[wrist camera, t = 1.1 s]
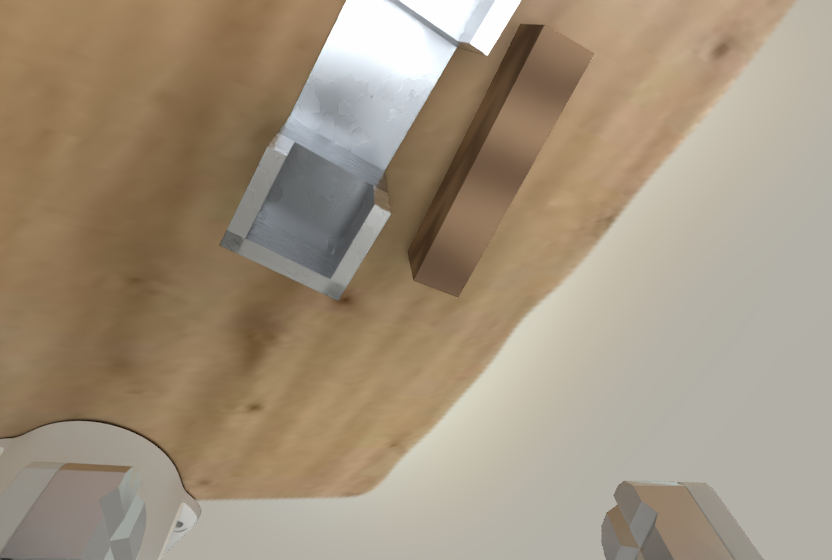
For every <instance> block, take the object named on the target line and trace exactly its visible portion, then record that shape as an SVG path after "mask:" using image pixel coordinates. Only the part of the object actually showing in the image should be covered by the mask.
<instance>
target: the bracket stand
mask: <svg viewBox="0 0 832 560" xmlns="http://www.w3.org/2000/svg"><path fill="white" fill-rule="evenodd" d="M520 1H521V0H347V1H346V3H345V5H344V7H343V9H342V11H341V13H340V15H339V17H338V19H337V21H336V23H335V25H334V27H333V29H332V31H331V33H330V35H329V37H328V39H327V41H326V43H325V45H324V47H323V49H322V51H321V53H320V55H319V57H318V60H317V62H316V64H315V66H314V68H313V70H312V72H311V74H310V76H309V78H308V80H307V82H306V84H305V86H304V88H303V90H302V92H301V94H300V96H299V98H298V100H297V102H296V104H295V106H294V108H293V110H292V112H291V114H290V116H289V118H288V119H287V121H286V122H285V123H284V125H283V126H282V127H281V129H280V130H279V131H278V133H277V134H276V135H275V137H274V138H273V140H272V141H271V142H270V144H269V145H268V146H267V149H266V151H265V153H264V155H263V157H262V159H261V161H260V163H259V165H258V167H257V169H256V171H255V173H254V175H253V177H252V179H251V181H250V183H249V185H248V188H247V190H246V192H245V194H244V196H243V198H242V200H241V202H240V204H239V206H238V208H237V210H236V212H235V214H234V216H233V218H232V220H231V222H230V224H229V226H228V229H227V231H226V233H225V235H224V237H223V239H222V241H221V243H220V246H222V247H224V248H226V249H229V250H231V251H233V252H235V253H237V254H239V255H241V256H244V257H246V258H248V259H250V260H252V261H254V262H256V263H258V264H261V265H263V266H265V267H267V268H269V269H271V270H273V271H276V272H278V273H280V274H282V275H284V276H286V277H288V278H290V279H293V280H295V281H297V282H299V283H301V284H303V285H305V286H308V287H310V288H312V289H314V290H316V291H318V292H320V293H322V294H325V295H327V296H329V297H331V298H333V299H335V300H337V301H338V300H339V298H340V297H341V295H342V294H343V292H344V290H345V289H346V287H347V285H348V284H349V282H350V280H351V279H352V277H353V275H354V274H355V272H356V271H357V269H358V267H359V266H360V264H361V262H362V261H363V259H364V257H365V256H366V254H367V253H368V251H369V249H370V248H371V246H372V244H373V243H374V241H375V239H376V238H377V236H378V234H379V233H380V231H381V230H382V228H383V226H384V225H385V223H386V221H387V220H388V218H389V216H390V215H391V209H390V202H389V196H388V190H387V184H386V178H385V172H384V171H385V169H386V168H387V166H388V164H389V162H390V161H391V159H392V157H393V156H394V154H395V152H396V150H397V149H398V147H399V145H400V144H401V142H402V140H403V139H404V137H405V135H406V133H407V132H408V130H409V128H410V127H411V125H412V123H413V121H414V120H415V118H416V116H417V115H418V113H419V111H420V109H421V108H422V106H423V104H424V103H425V101H426V99H427V97H428V96H429V94H430V92H431V91H432V89H433V87H434V85H435V84H436V82H437V80H438V79H439V77H440V75H441V74H442V72H443V70H444V68H445V67H446V65H447V63H448V62H449V60H450V58H451V56H452V55H453V53H454V51H455V50H456V48H457V47H458V48H461V49H465V50H469V51H472V52H476V53H480V54H484V55H487V56H488V54H489V52H490V51H491V49H492V47H493V46H494V44H495V42H496V41H497V39H498V37H499V36H500V34H501V33H502V31H503V29H504V28H505V26H506V24H507V23H508V21H509V19H510V18H511V16H512V15H513V13H514V11H515V10H516V8H517V6H518V5H519V3H520Z"/></svg>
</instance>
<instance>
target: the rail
mask: <svg viewBox="0 0 832 560" xmlns="http://www.w3.org/2000/svg"><path fill="white" fill-rule="evenodd" d="M593 55H594V53H593V52H591V51H589V50H588V49H586V48H584V47H582V46H581V45H579V44H577V43H575V42H574V41H572V40H570V39H568V38H567V37H565V36H563V35H561V34H560V33H558V32H556V31H554V30H553V29H551V28H549V27H547V26H546V25H527V24H520V26H519V28H518V30H517V32H516V34H515V37H514V39H513V41H512V43H511V45H510V47H509V49H508V51H507V53H506V55H505V57H504V59H503V61H502V63H501V65H500V67H499V69H498V71H497V73H496V75H495V77H494V79H493V81H492V83H491V85H490V87H489V89H488V91H487V93H486V95H485V97H484V99H483V101H482V103H481V105H480V107H479V109H478V111H477V113H476V115H475V117H474V119H473V121H472V123H471V125H470V127H469V129H468V131H467V133H466V136H465V138H464V140H463V142H462V144H461V146H460V148H459V150H458V152H457V154H456V156H455V158H454V160H453V162H452V164H451V166H450V168H449V170H448V172H447V174H446V176H445V178H444V180H443V182H442V184H441V186H440V188H439V190H438V192H437V194H436V196H435V198H434V200H433V202H432V204H431V206H430V208H429V210H428V212H427V214H426V216H425V218H424V220H423V222H422V224H421V226H420V228H419V230H418V232H417V235H416V237H415V239H414V241H413V243H412V245H411V247H410V249H409V251H408V256H409V261H410V266H411V270H412V275H413V280H414V281H416V282H419V283H421V284H424V285H427V286H429V287H432V288H435V289H437V290H440V291H442V292H445V293H448V294H450V295H453V296H456V297H459V295H460V293H461V292H462V290H463V288H464V286H465V284H466V283H467V281H468V279H469V277H470V275H471V274H472V272H473V270H474V268H475V266H476V265H477V263H478V261H479V259H480V258H481V256H482V254H483V252H484V250H485V249H486V247H487V245H488V243H489V241H490V240H491V238H492V236H493V234H494V232H495V231H496V229H497V227H498V225H499V223H500V222H501V220H502V218H503V216H504V215H505V213H506V211H507V209H508V207H509V206H510V204H511V202H512V200H513V198H514V197H515V195H516V193H517V191H518V189H519V188H520V186H521V184H522V182H523V180H524V179H525V177H526V175H527V173H528V172H529V170H530V168H531V166H532V164H533V163H534V161H535V159H536V157H537V155H538V154H539V152H540V150H541V148H542V146H543V145H544V143H545V141H546V139H547V137H548V136H549V134H550V132H551V130H552V129H553V127H554V125H555V123H556V121H557V120H558V118H559V116H560V114H561V112H562V111H563V109H564V107H565V105H566V103H567V102H568V100H569V98H570V96H571V95H572V93H573V91H574V89H575V87H576V86H577V84H578V82H579V80H580V78H581V77H582V75H583V73H584V71H585V69H586V68H587V66H588V64H589V62H590V60H591V59H592V57H593Z"/></svg>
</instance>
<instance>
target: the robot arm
mask: <svg viewBox="0 0 832 560" xmlns="http://www.w3.org/2000/svg"><path fill="white" fill-rule="evenodd" d="M614 497H615V499H616V502H617V504H618V505H617V506H615V507H614V508H612V509H611V510H610V511H609V512H607V513H606V516H605V518H604V521H603V524H602V546H603V550H604V554H605V557H606V560H764V559H763V558H762V557H761V555H760V554H759V552H758V551H757V550H756V548H755V547H754V545H753V544H752V543H751V541H750V540H749V538H748V537H747V535H746V534H745V533H744V531H743V530H742V529H741V527H740V526H739V525H738V523H737V522H736V520H735V519H734V517H733V516H732V514H731V513H730V512H729V510H728V509H727V507H726V506H725V505H724V503H723V502H722V500H721V499H720V498H719V496H718V495H717V493H716V492H715V491H714V489H713V488H711V487H710V486H709V485H707V484H706V483H689V482H677V483H675V482H659V481H623V482H622V483H621V484H619V485H618V487H617V489H616V491H615V494H614ZM200 514H201V508H200V506H199V505H198V503H197V502H196V501H195V500H194V499H193V498H192V497H191V496H190V495H189V494H188V493H187V492H186V491H185V490H184V488H183V486H182V483H181V480H180V477H179V474H178V472H177V470H176V468H175V466H174V465H173V463H172V462H171V460H170V459H169V458H168V457H167V456H166V455H165V453H163V452H162V451H161V450H160V449H159V448H158V447H157V446H155V445H154V444H153V443H151V442H150V441H148V440H146V439H145V438H143V437H141V436H139V435H137V434H135V433H133V432H131V431H128V430H125V429H123V428H120V427H116V426H113V425H109V424H104V423H98V422H89V421H67V422H59V423H53V424H49V425H46V426H42V427H40V428H37V429H35V430H33V431H30V432H28V433H26V434H24V435H21V436H19V437H15V438H6V439H0V560H162V557H163V556H164V555H165V554H166V553H167V552H168V551H169V550H170V549H171V548H172V547H173V546H174V545H175V544H176V543H177V542H178V541H179V540H180V539H181V538H182V537H183V536H184V535H185V534H186V533H187V532H188V531H189V530H190V529H191V528H192V527H193V526H194V525H195V524H196V522H197V521H198V518H199V516H200Z"/></svg>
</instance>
